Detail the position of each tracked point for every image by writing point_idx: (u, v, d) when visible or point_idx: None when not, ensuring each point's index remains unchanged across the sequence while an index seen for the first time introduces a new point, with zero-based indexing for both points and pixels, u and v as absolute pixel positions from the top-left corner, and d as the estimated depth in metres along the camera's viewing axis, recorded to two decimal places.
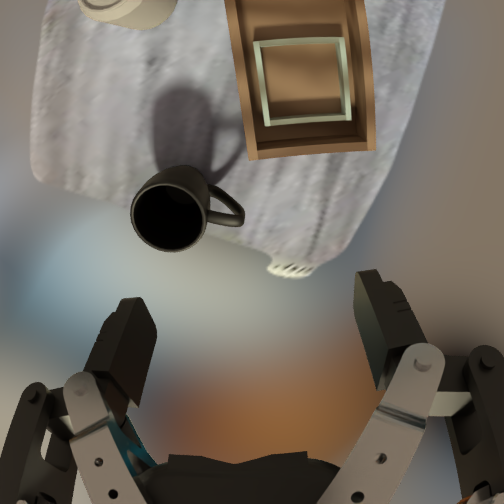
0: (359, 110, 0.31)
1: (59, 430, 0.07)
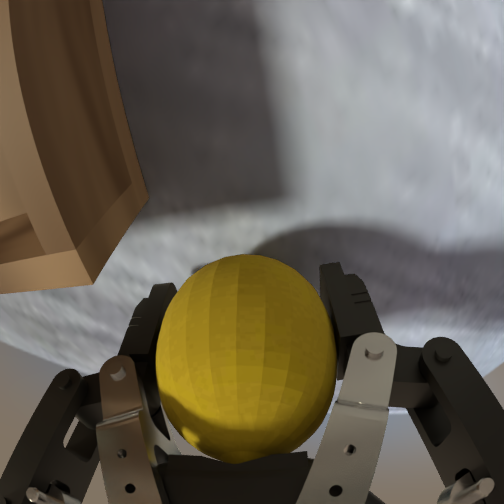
0: None
1: (88, 420, 0.08)
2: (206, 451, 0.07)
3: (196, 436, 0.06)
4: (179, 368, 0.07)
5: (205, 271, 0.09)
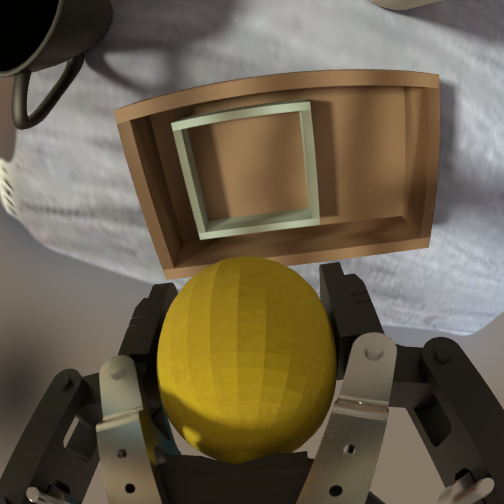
0: (215, 246, 0.26)
1: (88, 420, 0.08)
2: (207, 452, 0.07)
3: (197, 437, 0.06)
4: (180, 370, 0.07)
5: (206, 273, 0.09)
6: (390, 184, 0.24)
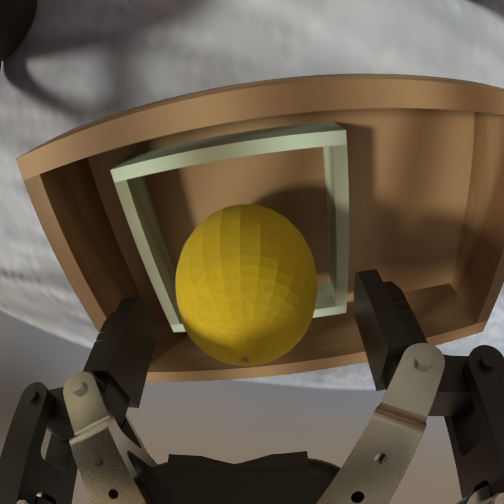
0: None
1: (59, 430, 0.07)
2: (215, 346, 0.10)
3: (208, 329, 0.09)
4: (197, 274, 0.10)
5: (215, 213, 0.12)
6: (442, 246, 0.16)
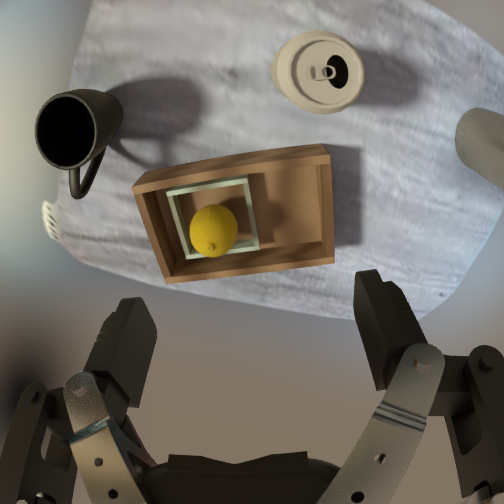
0: (196, 263, 0.42)
1: (59, 430, 0.07)
2: (201, 245, 0.33)
3: (199, 239, 0.33)
4: (196, 224, 0.33)
5: (203, 207, 0.36)
6: (309, 221, 0.40)
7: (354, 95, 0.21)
